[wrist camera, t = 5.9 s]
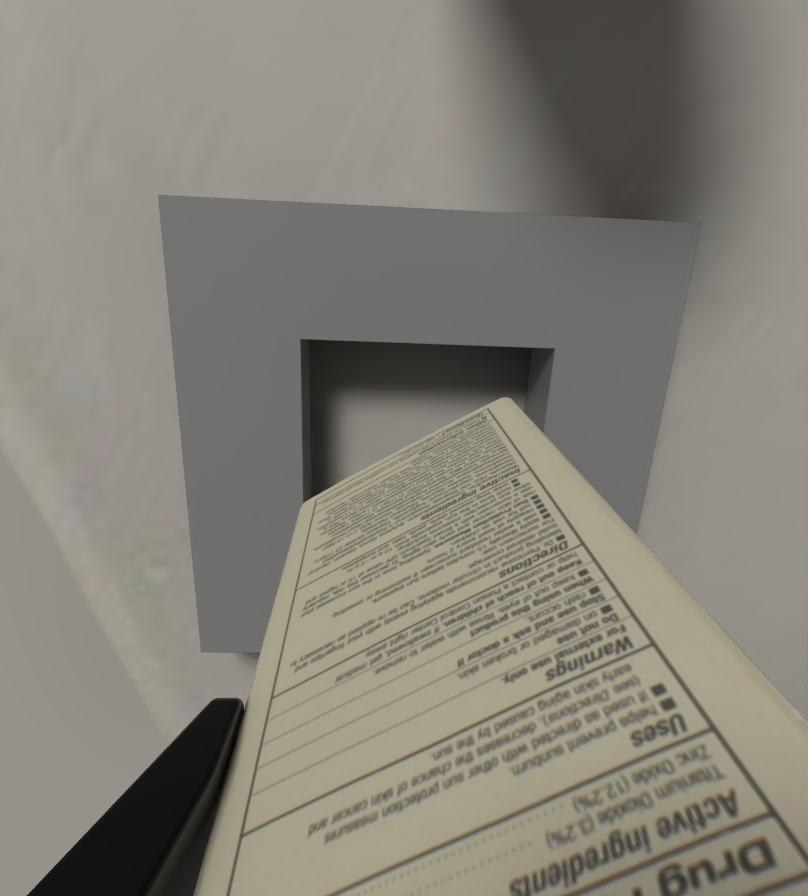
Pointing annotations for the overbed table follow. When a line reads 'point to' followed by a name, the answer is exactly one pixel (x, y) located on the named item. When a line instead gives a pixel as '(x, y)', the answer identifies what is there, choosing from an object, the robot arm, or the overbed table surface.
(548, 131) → the overbed table surface
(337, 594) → the skincare box
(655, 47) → the overbed table surface
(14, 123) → the overbed table surface
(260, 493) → the socket holder
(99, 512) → the overbed table surface
